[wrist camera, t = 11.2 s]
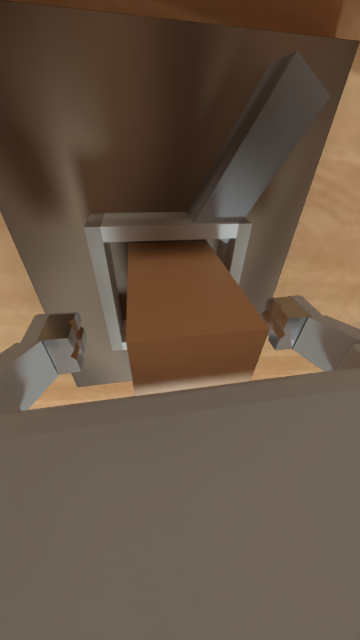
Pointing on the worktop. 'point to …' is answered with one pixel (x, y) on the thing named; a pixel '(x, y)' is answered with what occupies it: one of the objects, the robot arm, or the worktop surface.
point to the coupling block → (187, 319)
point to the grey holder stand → (154, 152)
